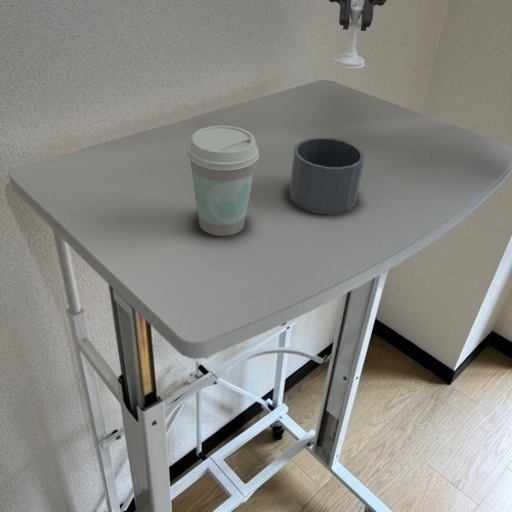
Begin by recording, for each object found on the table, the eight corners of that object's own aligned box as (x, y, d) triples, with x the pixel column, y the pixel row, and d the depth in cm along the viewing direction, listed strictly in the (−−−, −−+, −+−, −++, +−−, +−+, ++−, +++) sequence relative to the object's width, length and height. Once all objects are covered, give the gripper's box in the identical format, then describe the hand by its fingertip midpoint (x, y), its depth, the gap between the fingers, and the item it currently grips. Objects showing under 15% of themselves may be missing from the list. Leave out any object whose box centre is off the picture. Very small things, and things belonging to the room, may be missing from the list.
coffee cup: (193, 245, 67) (191, 156, 60) (185, 209, 74) (182, 125, 67) (261, 239, 69) (267, 152, 62) (247, 204, 76) (251, 122, 69)
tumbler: (350, 182, 82) (358, 139, 78) (360, 216, 75) (369, 170, 71) (288, 179, 82) (292, 136, 78) (291, 213, 75) (296, 167, 70)
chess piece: (327, 58, 86) (336, -11, 80) (357, 58, 87) (368, -11, 81) (338, 69, 82) (348, -4, 76) (369, 68, 83) (381, -3, 77)
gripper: (318, -104, 78) (308, 8, 76) (416, -98, 78) (409, 15, 75) (315, -66, 86) (305, 38, 83) (404, -60, 85) (397, 44, 82)
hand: (355, 27), depth 79 cm, fingers closed on chess piece
